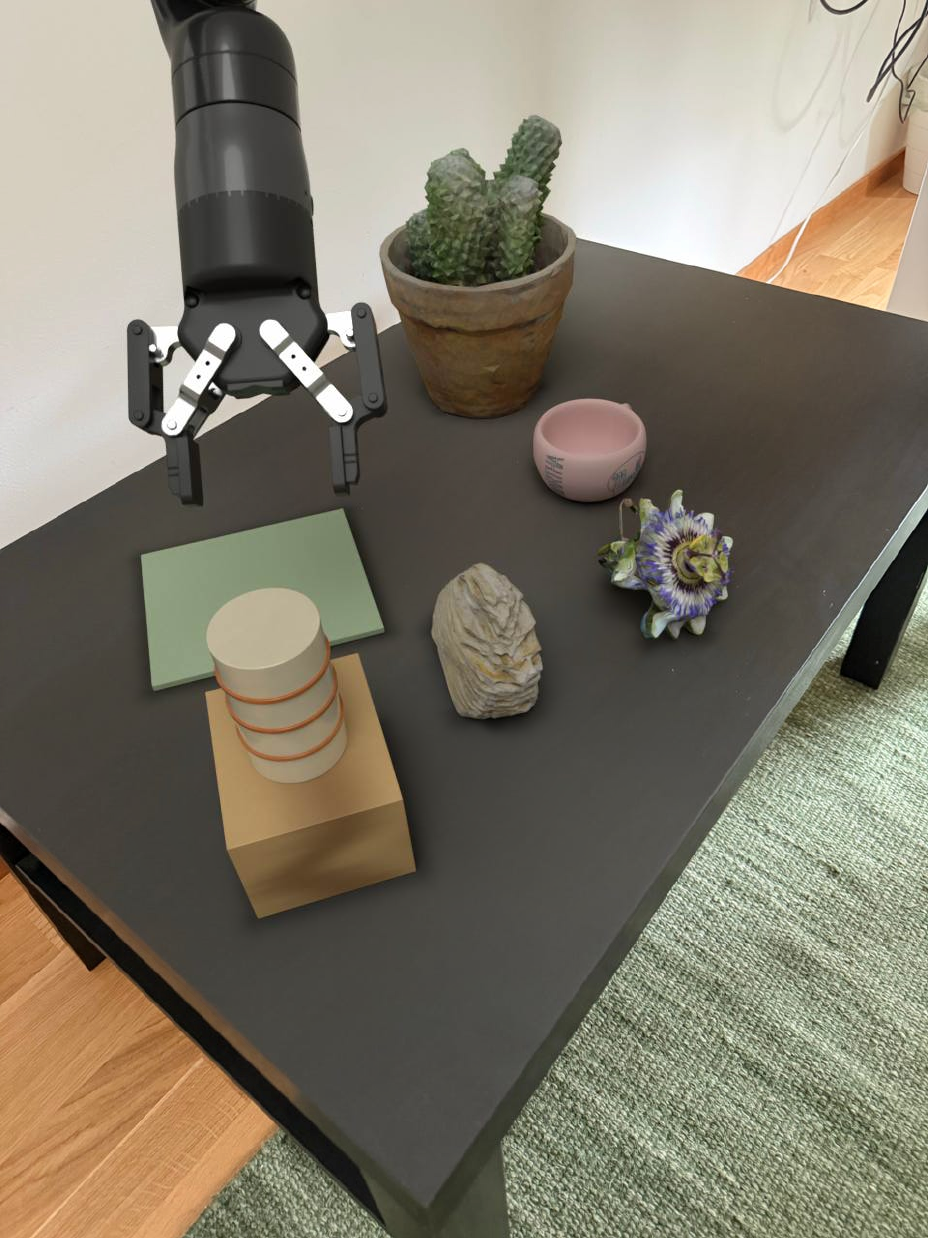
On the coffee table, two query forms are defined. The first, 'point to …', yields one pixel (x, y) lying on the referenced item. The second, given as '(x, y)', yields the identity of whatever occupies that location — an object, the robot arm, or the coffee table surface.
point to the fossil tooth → (487, 644)
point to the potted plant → (483, 276)
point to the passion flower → (671, 565)
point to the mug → (589, 448)
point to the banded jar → (279, 683)
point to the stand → (313, 810)
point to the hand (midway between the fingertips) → (267, 500)
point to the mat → (252, 588)
